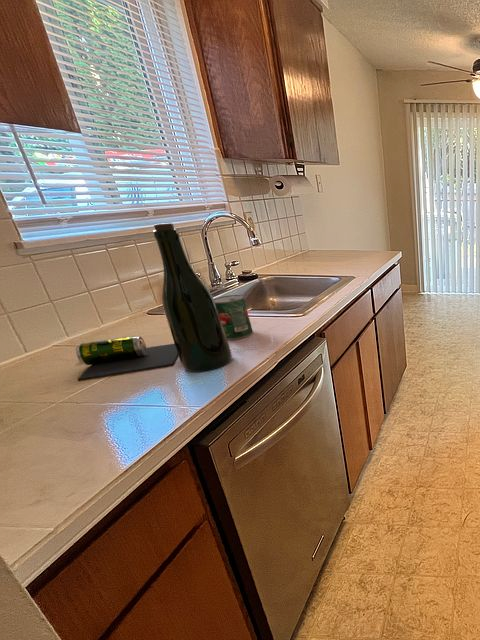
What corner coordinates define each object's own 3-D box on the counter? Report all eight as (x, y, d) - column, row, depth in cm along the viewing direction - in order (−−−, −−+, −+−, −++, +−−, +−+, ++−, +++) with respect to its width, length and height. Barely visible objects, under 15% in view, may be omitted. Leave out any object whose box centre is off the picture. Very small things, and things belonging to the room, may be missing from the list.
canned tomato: (216, 339, 114) (204, 301, 109) (236, 329, 121) (225, 294, 116) (240, 340, 113) (229, 302, 108) (259, 330, 120) (249, 295, 115)
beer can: (87, 349, 100) (146, 341, 105) (88, 369, 98) (147, 359, 103) (74, 340, 95) (137, 331, 100) (75, 360, 93) (138, 350, 98)
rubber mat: (78, 380, 91) (77, 378, 91) (103, 355, 104) (102, 353, 104) (172, 365, 98) (172, 363, 98) (184, 343, 111) (184, 342, 111)
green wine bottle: (186, 360, 100) (137, 222, 87) (233, 352, 105) (194, 220, 91) (180, 376, 92) (125, 227, 78) (232, 367, 96) (189, 223, 83)
